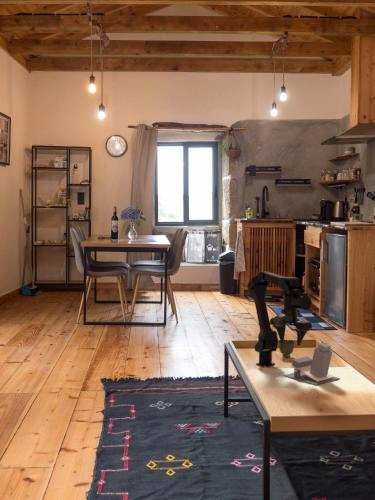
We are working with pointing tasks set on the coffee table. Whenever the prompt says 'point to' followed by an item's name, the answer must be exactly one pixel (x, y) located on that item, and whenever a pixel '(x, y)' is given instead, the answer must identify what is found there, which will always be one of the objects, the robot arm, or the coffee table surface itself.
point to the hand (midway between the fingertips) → (290, 343)
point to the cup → (286, 347)
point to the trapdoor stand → (307, 378)
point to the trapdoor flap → (307, 368)
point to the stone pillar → (321, 360)
